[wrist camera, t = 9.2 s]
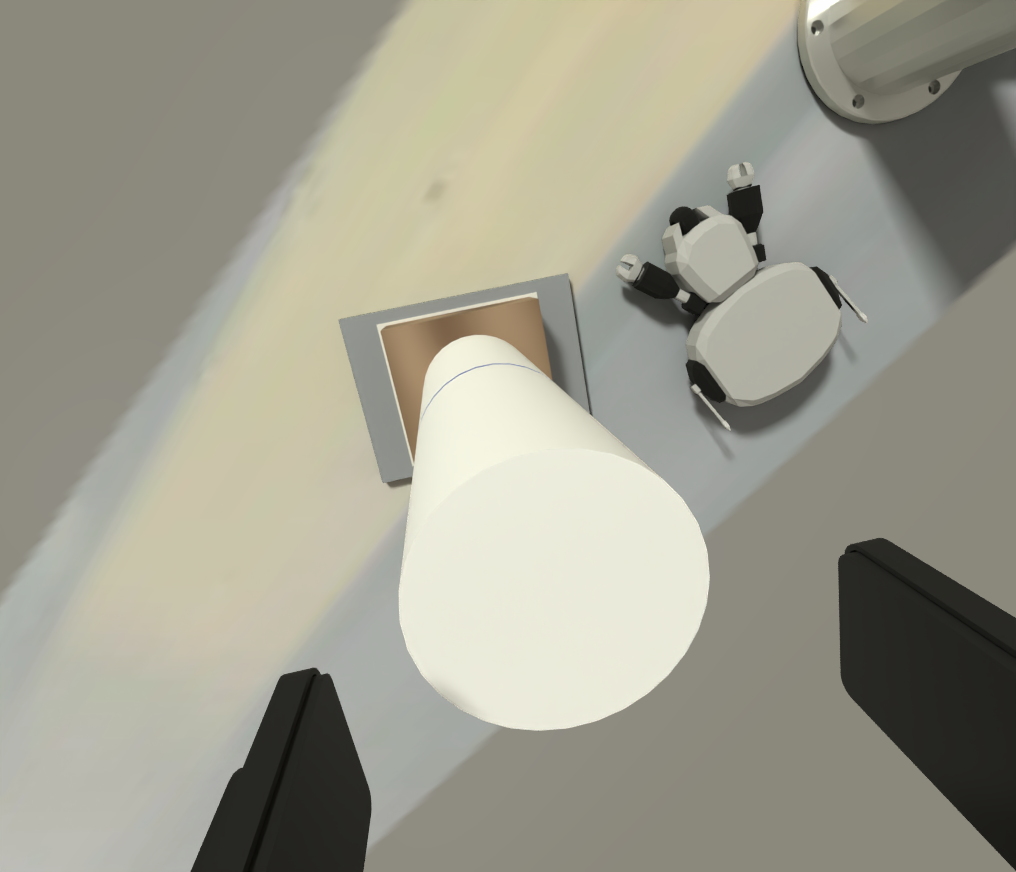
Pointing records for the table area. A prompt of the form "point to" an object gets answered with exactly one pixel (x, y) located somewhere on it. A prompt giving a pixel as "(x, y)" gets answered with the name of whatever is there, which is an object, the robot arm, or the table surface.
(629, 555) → the cylindrical container
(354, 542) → the table surface
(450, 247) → the table surface
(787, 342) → the robot toy
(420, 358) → the plinth
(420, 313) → the plate
